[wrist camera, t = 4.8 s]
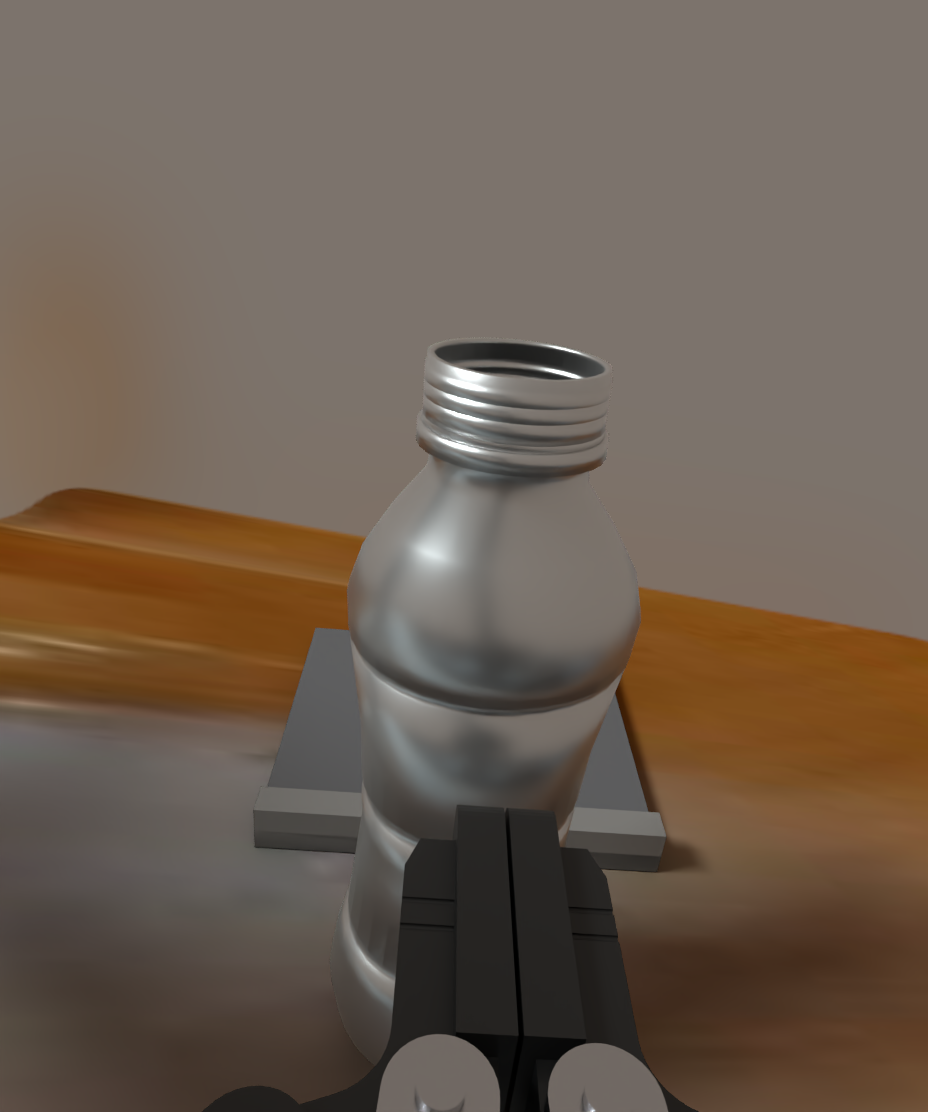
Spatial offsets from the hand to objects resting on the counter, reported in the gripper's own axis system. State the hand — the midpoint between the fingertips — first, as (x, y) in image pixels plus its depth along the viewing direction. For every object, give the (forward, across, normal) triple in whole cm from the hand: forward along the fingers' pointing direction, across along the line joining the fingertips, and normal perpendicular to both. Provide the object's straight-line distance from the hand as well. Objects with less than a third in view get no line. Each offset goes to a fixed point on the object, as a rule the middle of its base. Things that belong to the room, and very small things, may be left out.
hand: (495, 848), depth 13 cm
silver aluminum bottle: (+7, 0, +14) cm, 16 cm away
